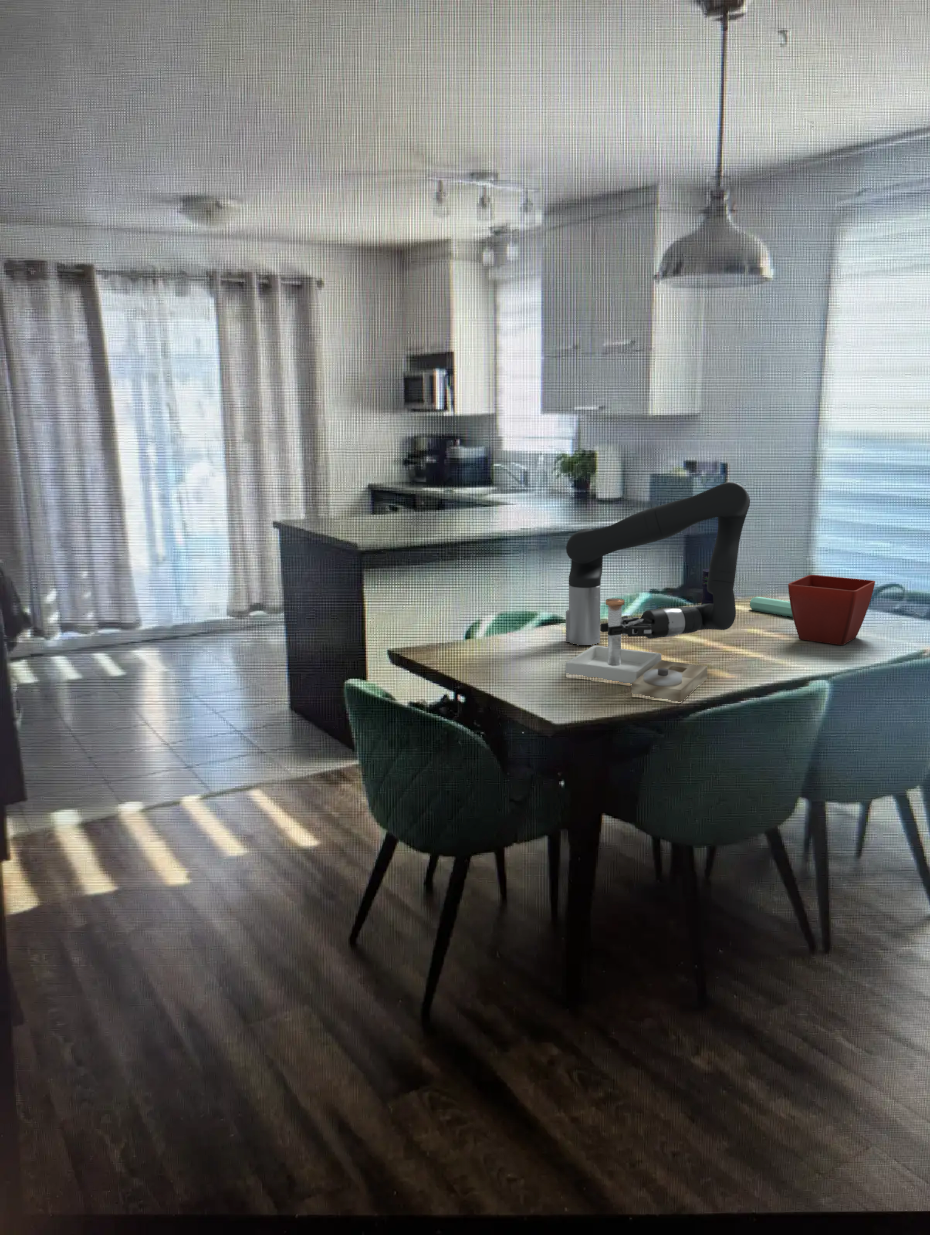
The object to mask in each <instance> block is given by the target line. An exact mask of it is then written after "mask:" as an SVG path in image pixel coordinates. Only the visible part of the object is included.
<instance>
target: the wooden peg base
mask: <svg viewBox="0 0 930 1235" xmlns="http://www.w3.org/2000/svg"><path fill="white" fill-rule="evenodd" d="M706 679H707V680H708V665H702V664H695V663H687V662H680V661H678V662H677V661H672V660H671V661H670V660H662V659H661V661H660V662H658V663H657V664H656V665H654V666H653V667H652V668H651V669H649V670H648V671H646V672H644V674H643V675H641V676H640V677H639V678H638V679H636V680H635V681H634V682H632V685H631V687H630V688H631V690H630V693H633V694H642V695H645V696H650V697H654V698H662V699H668V700H671V701H678V702H681V701H683V700H684V699H685V698H686V697H687V696H688V695H689V694H690V693H691V692H692V691H694V689H695V688H696V687H697V686H698V685H699V684H701V683H702V682H703V681H705V680H706ZM707 680H706V681H707ZM703 683H704V682H703ZM703 683H702V684H703ZM702 684H701V685H702ZM694 692H695V691H694ZM686 699H687V698H686ZM686 699H685V700H686ZM685 700H684V701H685ZM684 701H683V702H684Z"/></svg>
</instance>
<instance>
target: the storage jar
mask: <svg viewBox="0 0 930 1235" xmlns="http://www.w3.org/2000/svg"><path fill="white" fill-rule="evenodd" d="M708 573H709V567H705V568H703V569H702V576H701V577H702V579H701V580H702V584H701V585H702V598H701V603H700V605H703V604H714V601H713V594H711V593H709V592H708V590H707V581H708Z"/></svg>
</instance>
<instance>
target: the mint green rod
mask: <svg viewBox="0 0 930 1235" xmlns="http://www.w3.org/2000/svg"><path fill="white" fill-rule="evenodd" d="M749 607H750V609H751V610H752V611H755V612H759V613H760V612H761V613H766V614H771V615H776V614H777V616H781V615H782V616H783V617H787V616H790V617H789V618H793V615H792V611H791V605H790V600H789V601H788V600H782V599H777V598H769V597H763V596H755V597H752V598H751V599H750V602H749Z"/></svg>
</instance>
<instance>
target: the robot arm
mask: <svg viewBox="0 0 930 1235" xmlns="http://www.w3.org/2000/svg"><path fill="white" fill-rule="evenodd" d="M750 505H751V498H750V495H749V493H748V491H747V490H746V489H745V487H744V486H743V485H741V483H738V482H733V481H727V482H723V483H720V484H718V485H716V486H714V487H711V488H709V489H707V490H704V491H702V492H700V493H698V494H695V495H692V496H689V497H686V498H682V499H678V500H674V501H670V502H667V503H663V504H661V505H656V506H653V507H650V508H647V509H643V510H642V511H639V512H635V513H634V514H632V515H629V516H628V517H625V518H623V519H621V520H619V521H618V522H615V523H613V524H611V525H608V526H605V527H600V528H595V529H592V528H583V529H579V530H578V531H577V532H574V533H573V534H572V535H571V536H570V537H569V539H568V540H567V543H566V546H565V550H566V554H567V556H568V558H569V559H570V561H571V562H570V570H569V574H568V609H567V610H565V611H566V612H565V643H566V642H570V643H574V644H578V645H577V646H579V645H591V646H593V645H592V644H596V645H598V644H597V643H599V644H600V643H601V633H607V636H608V635H610V636H613V635H621V636H627V637H630V638H631V637H633V638H634V637H646V638H647V639H650V640H652V639H659V638H660V639H661V638H668V637H674V636H678V635H684V634H691V633H692V634H693V633H695V632H697V631H704V630H705V631H706V630H717V631H718V630H719V631H726V630H728V629H729V628H731V627H732V626H733V624H734V623H735V620H736V614H737V609H736V597H735V592H734V587H735V581H736V573H737V564H738V555H739V547H740V541H741V537H742V532H743V526H744V524H745V520H746V517H747V514H748V511H749V508H750ZM714 518H717V533H716V540H715V543H714V547H713V551H712V555H711V558H710V562H709V567H708V568H709V573H708V581H707V590H708V592H709V593H711V594H713V601H714V604H703V605H701V604H698V605H694V606H683V607H665V608H656V609H648V610H645V611H643V613H642V614H641V616H640V618H639V616H633V617H630V618H629V616H627V615H624V616H622V617H621V626H612V627H608V622H604V623H601V590H602V588H601V584H602V583H601V582H602V575H603V562H604V561H603V560H604V559H603V558H604V556H606V555H609V554H611V553H614V552H616V551H620V550H624V549H630V548H635V547H639V546H645V545H648V544H651V543H654V542H659V541H661V540H662V541H663V540H664V539H667V538H670V537H673V536H675V535H677V534H679V533H681V532H682V531H684V530H687V529H688V528H690V527H691V526H693V525H695V524H697V523H700V522H703V521H707V520H712V519H714ZM570 643H569V644H570Z"/></svg>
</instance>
